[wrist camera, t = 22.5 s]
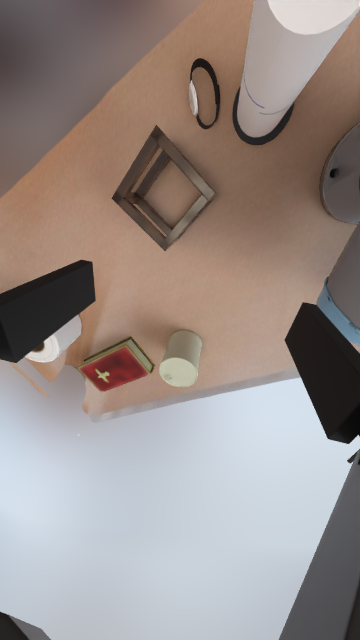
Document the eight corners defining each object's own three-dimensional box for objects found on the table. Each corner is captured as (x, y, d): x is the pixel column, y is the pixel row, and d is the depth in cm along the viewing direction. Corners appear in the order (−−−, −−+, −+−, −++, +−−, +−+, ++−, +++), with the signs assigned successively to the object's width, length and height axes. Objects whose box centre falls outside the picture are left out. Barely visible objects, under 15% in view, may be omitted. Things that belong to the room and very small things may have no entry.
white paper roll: (92, 328, 62) (69, 351, 52) (61, 347, 68) (35, 370, 59) (53, 284, 56) (20, 301, 47) (23, 309, 63) (-12, 327, 53)
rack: (217, 194, 40) (215, 193, 31) (176, 241, 45) (165, 251, 37) (171, 142, 37) (156, 124, 28) (133, 198, 43) (111, 198, 34)
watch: (184, 74, 33) (180, 61, 30) (214, 58, 31) (213, 43, 28) (196, 135, 36) (194, 129, 33) (224, 123, 35) (224, 116, 32)
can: (162, 340, 59) (150, 369, 49) (187, 324, 55) (179, 352, 45) (183, 361, 62) (175, 394, 51) (209, 347, 57) (205, 379, 47)
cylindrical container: (256, 62, 30) (336, -264, 9) (296, 91, 31) (458, -146, 10) (228, 121, 34) (236, -10, 13) (264, 146, 35) (330, 62, 13)
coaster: (306, 103, 32) (307, 101, 31) (256, 158, 36) (256, 158, 36) (269, 47, 30) (269, 44, 29) (221, 113, 34) (221, 111, 34)
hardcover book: (155, 366, 64) (151, 375, 61) (107, 384, 73) (101, 394, 69) (131, 336, 60) (125, 345, 57) (84, 359, 69) (76, 368, 65)
